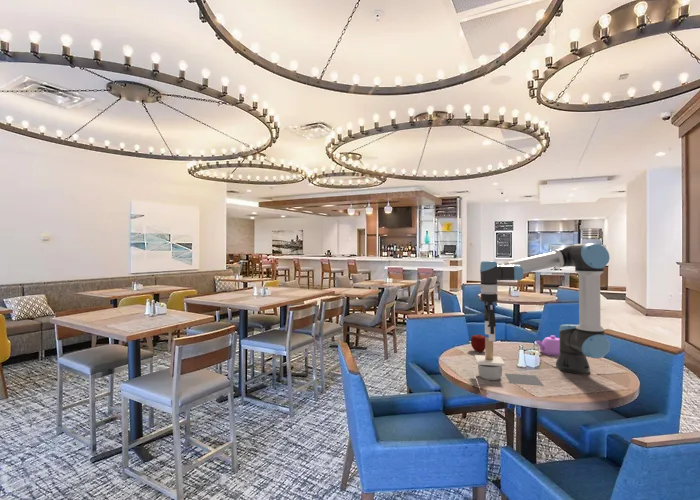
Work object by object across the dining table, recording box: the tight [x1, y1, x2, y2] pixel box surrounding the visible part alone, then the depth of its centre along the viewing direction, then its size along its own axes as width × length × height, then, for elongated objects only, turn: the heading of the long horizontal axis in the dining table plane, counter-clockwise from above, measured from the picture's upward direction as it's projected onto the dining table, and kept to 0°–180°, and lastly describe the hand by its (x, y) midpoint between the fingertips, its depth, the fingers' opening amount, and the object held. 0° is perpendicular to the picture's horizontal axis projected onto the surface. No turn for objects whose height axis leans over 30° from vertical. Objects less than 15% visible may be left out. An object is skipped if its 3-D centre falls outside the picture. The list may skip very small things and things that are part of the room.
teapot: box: [535, 335, 560, 357], centre depth 222 cm, size 14×20×11 cm
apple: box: [470, 334, 487, 353], centre depth 226 cm, size 10×10×10 cm
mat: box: [504, 373, 545, 387], centre depth 173 cm, size 14×14×1 cm
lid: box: [474, 336, 506, 367], centre depth 178 cm, size 12×12×11 cm
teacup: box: [477, 364, 503, 381], centre depth 178 cm, size 14×11×8 cm
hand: (489, 337), depth 178 cm, fingers open, 13 cm apart
